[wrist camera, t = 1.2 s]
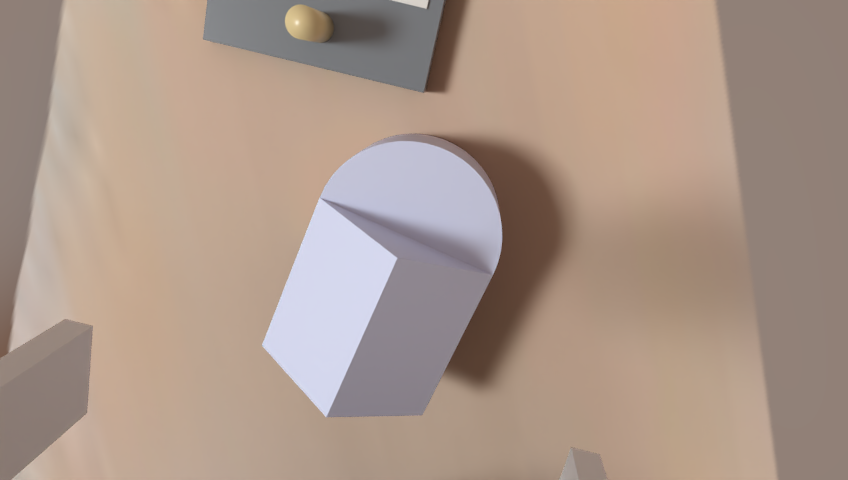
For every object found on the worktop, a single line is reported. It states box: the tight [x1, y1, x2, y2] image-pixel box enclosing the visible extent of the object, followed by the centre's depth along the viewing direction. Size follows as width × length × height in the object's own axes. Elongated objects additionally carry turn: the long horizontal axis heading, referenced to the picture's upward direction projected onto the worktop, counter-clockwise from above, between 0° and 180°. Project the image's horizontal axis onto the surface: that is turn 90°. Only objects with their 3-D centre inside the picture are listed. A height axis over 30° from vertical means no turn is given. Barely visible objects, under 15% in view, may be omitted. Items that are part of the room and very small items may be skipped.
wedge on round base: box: [262, 134, 502, 417], centre depth 28 cm, size 9×7×13 cm
